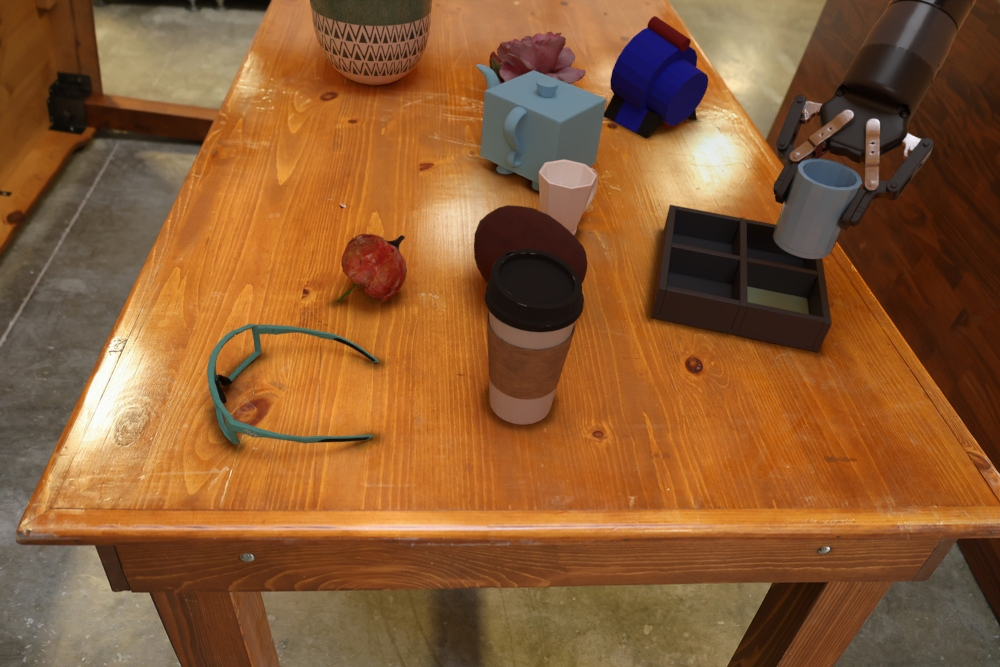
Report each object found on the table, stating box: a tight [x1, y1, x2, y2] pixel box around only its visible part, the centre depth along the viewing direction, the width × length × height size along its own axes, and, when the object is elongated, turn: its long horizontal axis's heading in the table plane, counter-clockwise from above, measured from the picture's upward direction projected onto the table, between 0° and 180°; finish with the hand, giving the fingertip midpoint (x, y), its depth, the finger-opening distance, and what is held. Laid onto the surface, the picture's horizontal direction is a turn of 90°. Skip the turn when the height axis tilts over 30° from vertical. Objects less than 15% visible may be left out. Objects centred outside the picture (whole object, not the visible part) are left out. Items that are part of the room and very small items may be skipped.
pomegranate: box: [336, 233, 408, 303], centre depth 82 cm, size 7×7×10 cm
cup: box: [538, 159, 599, 236], centre depth 95 cm, size 7×10×8 cm
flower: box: [488, 31, 587, 84], centre depth 125 cm, size 15×15×10 cm
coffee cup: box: [484, 249, 585, 426], centre depth 68 cm, size 8×8×15 cm
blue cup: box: [773, 158, 863, 259], centre depth 77 cm, size 6×6×8 cm
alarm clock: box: [604, 15, 709, 139], centre depth 118 cm, size 12×12×15 cm
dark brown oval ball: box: [473, 204, 588, 284], centre depth 82 cm, size 11×13×10 cm
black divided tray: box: [650, 204, 833, 353], centre depth 89 cm, size 18×18×4 cm
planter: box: [309, 0, 433, 86], centre depth 120 cm, size 20×20×21 cm
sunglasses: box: [206, 323, 380, 445], centre depth 70 cm, size 14×15×5 cm
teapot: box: [476, 63, 607, 192], centre depth 105 cm, size 18×16×13 cm
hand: (810, 212), depth 76 cm, fingers closed on blue cup, 6 cm apart
